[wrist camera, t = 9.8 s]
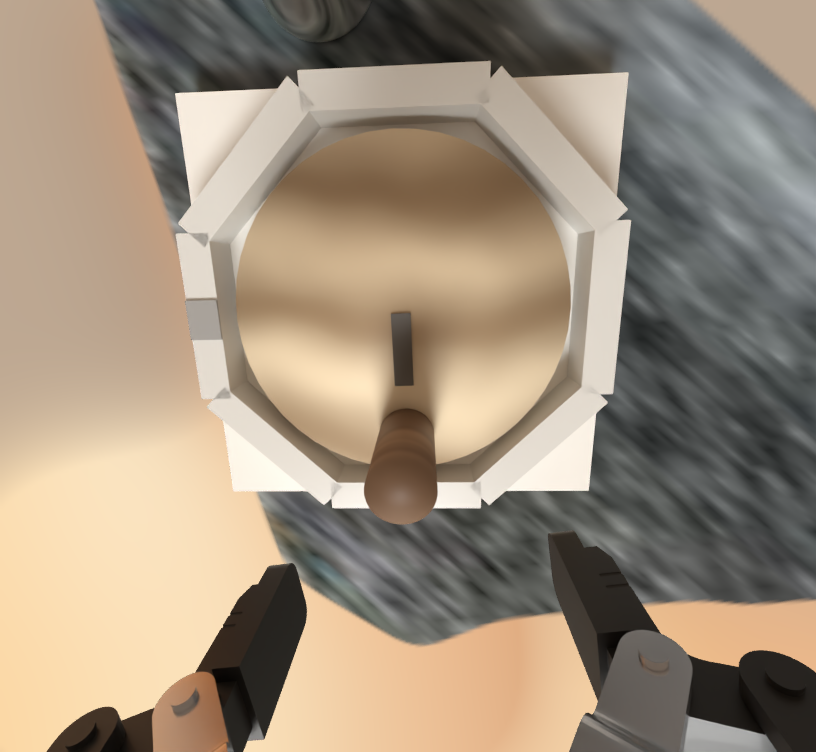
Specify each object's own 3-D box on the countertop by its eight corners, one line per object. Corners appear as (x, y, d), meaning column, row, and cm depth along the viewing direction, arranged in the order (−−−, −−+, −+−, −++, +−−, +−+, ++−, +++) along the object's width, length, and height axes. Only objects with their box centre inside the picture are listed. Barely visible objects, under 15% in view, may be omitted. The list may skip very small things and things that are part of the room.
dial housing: (609, 90, 21) (655, 45, 17) (576, 474, 27) (605, 512, 22) (196, 108, 22) (143, 70, 18) (246, 475, 28) (215, 512, 23)
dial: (225, 149, 20) (115, 82, 13) (569, 127, 20) (654, 42, 12) (269, 459, 25) (204, 537, 17) (554, 451, 24) (611, 531, 17)
